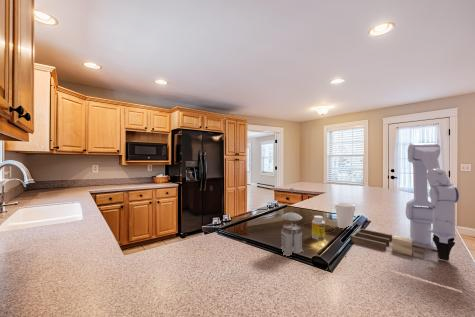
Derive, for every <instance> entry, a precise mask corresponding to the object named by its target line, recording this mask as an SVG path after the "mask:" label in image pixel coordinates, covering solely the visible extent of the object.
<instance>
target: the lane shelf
mask: <svg viewBox="0 0 475 317" xmlns="http://www.w3.org/2000/svg"><path fill="white" fill-rule="evenodd" d="M392 238H393V234H390V233H384V232H380V231H374V230H370V229H365V228H360V227H359V228H358V229H357V230H356V231H354V232H353V233H352V234H350V236H349V241H350V240H351V242H350V243H353V244H358V245H360V246H366V247H369V248H372V249H378V250H381V251H385V252H389V253H393V254H398V255H401V256H406V257H410V258H412V259H413V258H414V259H417V260H420V261H421V260H422V261H423V259H424V256H425V255H424V254H425V249H420V248H416V247H413V253H412V255H408V254H404V253H400V252H396V251H392Z"/></svg>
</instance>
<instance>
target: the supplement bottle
mask: <svg viewBox="0 0 475 317" xmlns="http://www.w3.org/2000/svg"><path fill="white" fill-rule="evenodd" d="M325 228H326V222H325V221H324V217H323V216H322V215H313V219H312V220H311V238H312V239H314V240H317V241H318V240H319V241H322V239H323V240H325V239H324V238H325V234H326V229H325Z"/></svg>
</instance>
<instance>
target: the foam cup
mask: <svg viewBox="0 0 475 317" xmlns="http://www.w3.org/2000/svg"><path fill="white" fill-rule="evenodd" d="M334 205H335V206H334V208H335V213H336V222H337V228H338V227H339V228H338V229H340V228H346V227H348V226H352V227H353V224H354V223H353V222H354V216H355V212H356V204H353V203H349V202H335V203H334Z"/></svg>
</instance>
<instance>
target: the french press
mask: <svg viewBox="0 0 475 317" xmlns="http://www.w3.org/2000/svg"><path fill="white" fill-rule="evenodd" d="M289 192H295V189H294V188H292V187H291V188H289ZM280 218H281V219H283V220H285V221H291V223H290V224H284V225H282V229H281V231H280V232H281V239H280V240H281V246H280V248H281V249H282V252H283V251H284V252H283V255H282V256H284V255H286V256H285V257H287V256H290V255H292V251H294V253H300V252H301V251H303V246H302V245H303V243H302V242H303V236H302V235H303V231H302V227H301V226H299V225H297V223H295V224H294V223H293V221H294V222H296V221H301V220H302V219H303V216H301V214H298V213H295V212H293V211H291V212H286V213H284V214H281V216H280Z"/></svg>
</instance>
